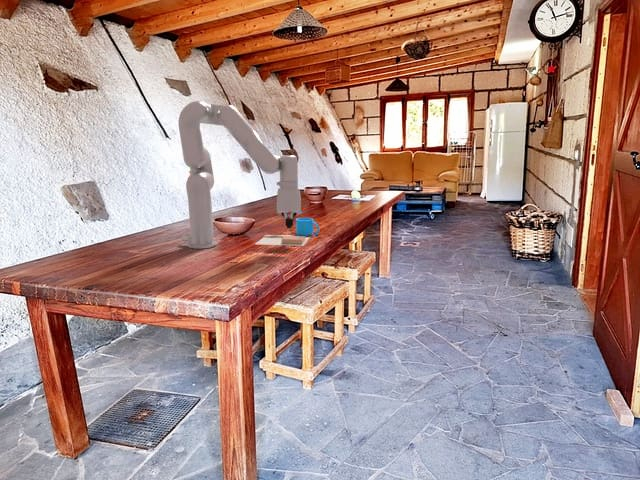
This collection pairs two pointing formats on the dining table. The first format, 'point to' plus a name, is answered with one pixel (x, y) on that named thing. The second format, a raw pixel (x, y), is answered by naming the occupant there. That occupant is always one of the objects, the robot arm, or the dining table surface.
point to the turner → (278, 236)
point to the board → (277, 241)
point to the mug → (305, 226)
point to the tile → (293, 239)
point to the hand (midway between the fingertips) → (289, 227)
